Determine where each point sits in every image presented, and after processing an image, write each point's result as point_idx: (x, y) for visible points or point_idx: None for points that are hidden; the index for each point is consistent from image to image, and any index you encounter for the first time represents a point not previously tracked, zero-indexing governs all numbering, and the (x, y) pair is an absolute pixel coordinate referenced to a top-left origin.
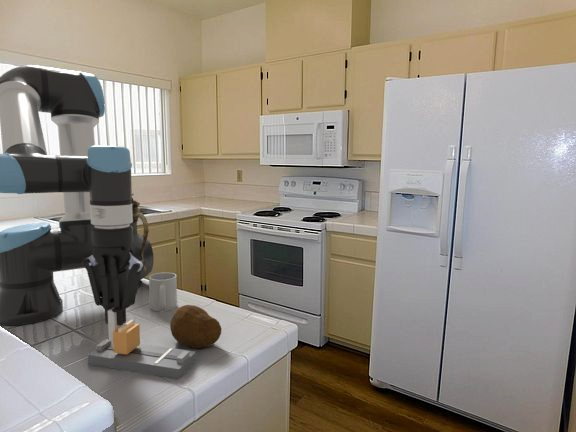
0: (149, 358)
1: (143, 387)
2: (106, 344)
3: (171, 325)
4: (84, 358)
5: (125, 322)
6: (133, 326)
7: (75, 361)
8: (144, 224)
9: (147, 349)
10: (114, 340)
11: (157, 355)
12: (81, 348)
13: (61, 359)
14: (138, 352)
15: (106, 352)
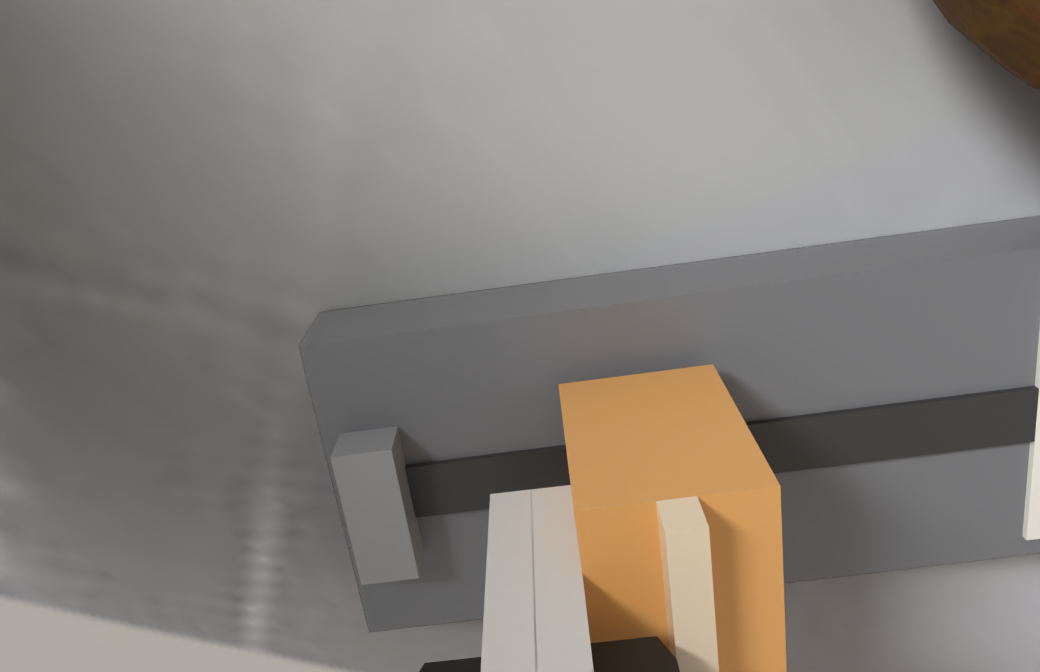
0: (933, 488)
1: (991, 638)
2: (406, 507)
3: (1006, 19)
4: (272, 529)
5: (657, 637)
6: (748, 564)
7: (252, 584)
8: None
9: (816, 369)
10: None
11: (991, 436)
12: (82, 423)
13: (125, 602)
14: (777, 458)
15: (486, 552)
